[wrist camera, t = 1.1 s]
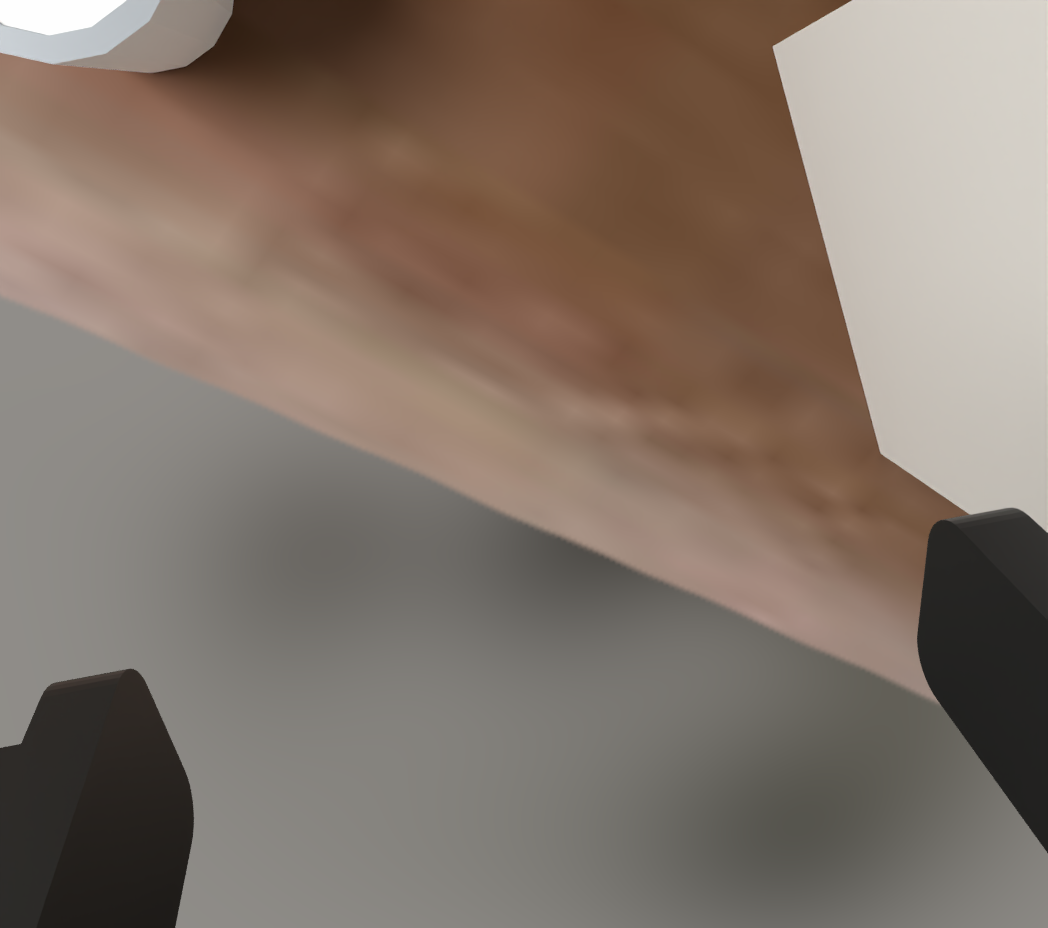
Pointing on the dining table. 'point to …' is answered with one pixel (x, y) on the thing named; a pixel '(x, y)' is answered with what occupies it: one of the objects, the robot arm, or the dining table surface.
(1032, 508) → the white display stand
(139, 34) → the shot glass
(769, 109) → the dining table surface
